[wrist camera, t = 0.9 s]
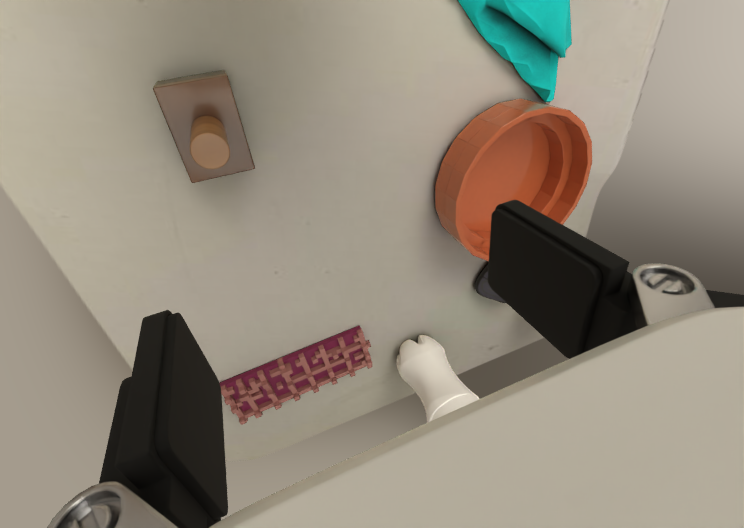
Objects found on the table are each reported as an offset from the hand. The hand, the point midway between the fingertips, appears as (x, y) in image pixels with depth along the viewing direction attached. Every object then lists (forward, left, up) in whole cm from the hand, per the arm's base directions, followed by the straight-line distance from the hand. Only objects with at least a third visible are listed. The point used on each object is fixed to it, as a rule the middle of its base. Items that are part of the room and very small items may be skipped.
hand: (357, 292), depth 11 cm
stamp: (0, -4, -26) cm, 27 cm away
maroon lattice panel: (+32, -3, -27) cm, 42 cm away
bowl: (+12, +25, -26) cm, 38 cm away
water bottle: (+36, +13, -27) cm, 47 cm away
